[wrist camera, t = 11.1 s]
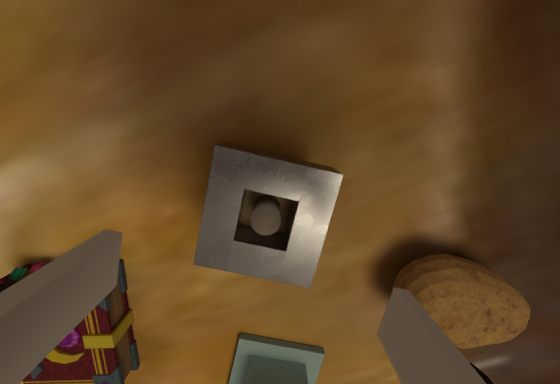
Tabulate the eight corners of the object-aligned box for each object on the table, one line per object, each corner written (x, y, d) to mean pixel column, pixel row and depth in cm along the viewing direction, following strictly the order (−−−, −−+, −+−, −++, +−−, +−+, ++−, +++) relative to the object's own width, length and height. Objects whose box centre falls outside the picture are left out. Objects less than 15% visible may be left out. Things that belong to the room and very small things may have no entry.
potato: (475, 319, 35) (532, 374, 27) (368, 307, 34) (396, 360, 26) (499, 249, 33) (569, 287, 25) (385, 235, 32) (421, 270, 24)
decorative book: (54, 365, 35) (19, 403, 31) (26, 251, 32) (-19, 273, 27) (141, 363, 36) (120, 400, 31) (124, 249, 32) (97, 271, 27)
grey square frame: (224, 142, 24) (214, 144, 20) (332, 167, 25) (343, 174, 21) (205, 244, 26) (193, 264, 22) (305, 264, 27) (310, 287, 23)
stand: (243, 156, 29) (230, 168, 21) (306, 171, 30) (319, 189, 21) (231, 216, 31) (214, 251, 22) (291, 229, 31) (297, 268, 23)
